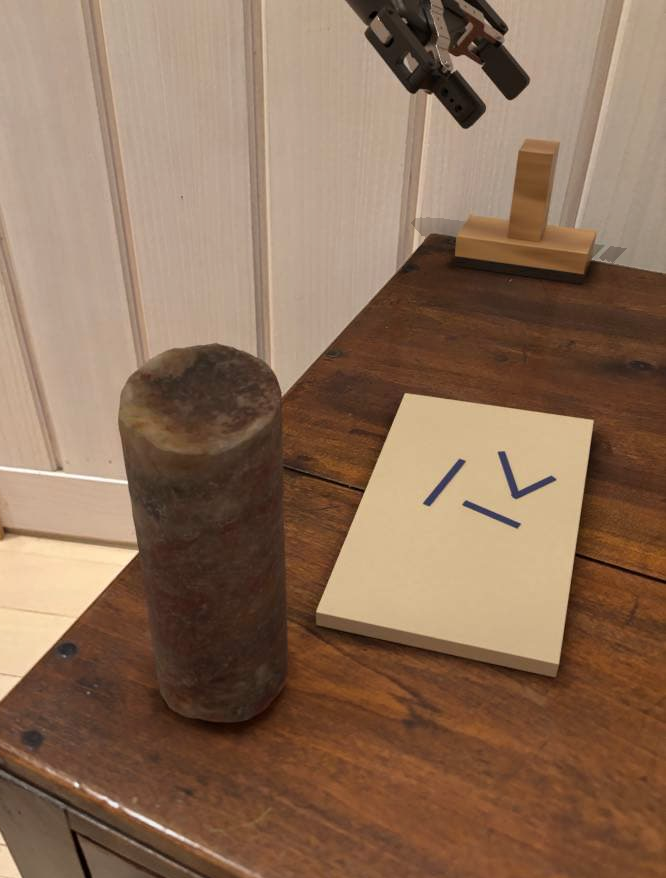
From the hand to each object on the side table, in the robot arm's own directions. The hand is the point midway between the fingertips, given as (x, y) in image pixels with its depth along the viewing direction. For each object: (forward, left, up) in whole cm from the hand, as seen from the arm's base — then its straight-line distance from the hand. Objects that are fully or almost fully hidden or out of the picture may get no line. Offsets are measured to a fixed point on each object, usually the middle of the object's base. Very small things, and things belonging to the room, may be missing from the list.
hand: (499, 105), depth 73 cm
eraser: (-8, -3, -17) cm, 19 cm away
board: (+18, +25, -17) cm, 35 cm away
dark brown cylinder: (+38, +30, -17) cm, 51 cm away
